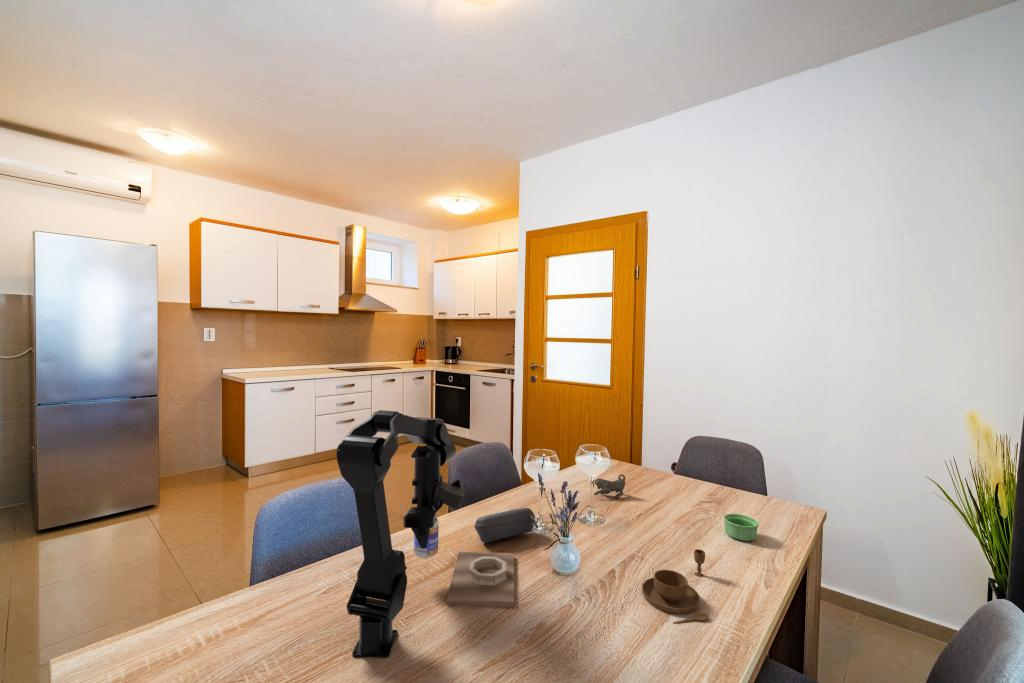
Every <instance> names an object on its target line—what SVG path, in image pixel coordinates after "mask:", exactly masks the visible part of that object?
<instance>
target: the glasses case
mask: <svg viewBox="0 0 1024 683" xmlns="http://www.w3.org/2000/svg"><path fill="white" fill-rule="evenodd" d="M534 526H535V528H536V529H539V526H538V524H537V522H536V514H535V513H534V511H533V510H532V509H531V508H529V507H523V508H522V507H521V508H515V509H514V508H512V509H507V510H503V511H499V512H494V513H492V514H487V515H484V516H481V517H480V516H479V518H477V519H476V521H475V524H474V529H475V531H476V533H477V535H478V537H479V540H480V541H481V542H482V543H490V542H494V541H498V540H502V539H507V538H511V537H515V536H519V535H524V534H527V533H531V532H532V531H533V530H534Z"/></svg>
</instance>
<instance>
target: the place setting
mask: <svg viewBox="0 0 1024 683" xmlns="http://www.w3.org/2000/svg"><path fill="white" fill-rule="evenodd" d="M693 558H694V559H693V560H694V562H695V563H696V564H697V567H696V570H697V572H694V575H695V576H696V577H699V578H702V577H704V574H703V573H702V565H703V564H705V561H706V552H705V551H704V550H702V549H698V548H697V549H694V551H693ZM688 583H689V582H688V579H687V578H686V577H685V576H684V575H683V574H681V573H680V572H677V571H674V570H671V569H660V570H657V571H655V572H654V574H653V577H650V578H647V579H646V580H644V581H643V583H642V585H641V592H642V595H643V597H644V599H645V600H646V601H647V602H648V603H649V604H650V605H651V606H653V607H654V608H657V609H659V610H660V611H663V612H666V613H669V614H677V615H683V614H689V613H692V612H694V611H695V610H696V609H697V608H698V607H699V605H700V602H701V601H700V599H701V598H700V594H699V593H698V592H697V590H696V589H695V588H694V587H692V586H691V585H689V584H688ZM709 617H710V616H709V614H707V613H701V612H700V613H697V614H695V615H694V616H693V617H690V618H689V617H688V618H684V619H681V620H680V619H679V620H677V621H673V622H672V624H673V625H678V624H683V623H685V622H690V621H697V622H703V621H706V620H708V618H709Z"/></svg>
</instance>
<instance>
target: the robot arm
mask: <svg viewBox="0 0 1024 683" xmlns="http://www.w3.org/2000/svg"><path fill="white" fill-rule="evenodd" d="M378 433H386V434H387V433H388V434H389V435H388V436H387V438H384V437H378V436H376V435H377V434H378ZM398 435H401V436H405V437H407V439H408V440H409V441H410V442H412V443H414V444H415V443H416V444H419V445H417V446H416V447H415V449H414V451H413V452H412V453H411V455H410V456H411V458H412V459H414V470H413V471H414V475H413V476H414V478H413V479H412V481H411V486H412V487H414V488H413V489H414V490H413V497H412V498H411V504H412V505H416V506H411V507H410V508H409V509H408V510H406V513H405V514H404V516H403V527H404V528H406V529H411V530H412V533H413V535H414V534H415V536H416V539H417V541H418V543H419V545H420V547H421V548H426V546H427V541H428V536H429V531H430V528H432V527H434V524H435V523H436V520H438V517H437V512H438V511H439V510H440V509H441V508H443V505H445V506H448V507H451V508H452V509H454V510H460V508H461V505H462V502H463V500H464V497H465V495H466V490H465V487H463V485H462V484H463V483H462V480H461V479H458V478H455V479H454V480H453V481H451V482H449V481H448V482H444V480H443V479H444V477H443V476H442V475H443V474H441V467H442V466H444V465H446V464H447V463H448V462H449V461H451V460H452V459H453V458H454V457H455V455H456V453H457V452H456V451H457V447H456V445H455V442H453V440H451V437H450V433H449V431H448V427H447V425H446V424H445V421H444V419H442V418H433V417H419V416H416V417H413V416H411V415H406V414H403V413H402V412H399V411H396V410H383V409H382V410H380V409H379V410H377V411H374V412H373V413H372V415H371V416H370V417H369V418H368V419H367V420H364V421H363V422H361V423H359V424H358V425H355V427H352V428H351V429H350V430H349V431H348V433H347V434H346V436H344V438H343V439H342V440H341V442H340V443H339V444H338V446H337V447H336V448H337V449H336V462H337V465H338V468H339V472H340V475H341V477H342V478H343V479H344V480H345V481H346V483H347V484H348V485H349V486H350V487H351V489H352V490H353V495H354V500H355V502H354V503H355V507H356V513H357V514H356V515H357V520H358V526H359V527H358V528H359V533H360V539H361V546H362V547H361V548H362V551H363V552H362V553H363V561H362V563H361V564H360V566H359V568H358V570H357V571H356V572H357V573H356V575H357V579H356V581H355V584H354V586H353V589H352V592H351V593H350V597H349V598H348V602H347V604H346V611H347V613H348V615H349V616H351V615H353V616H358V617H359V628H358V629H359V631H358V632H359V635H358V636H359V637H358V638H359V639H358V640H357V642H356V645H355V646H354V648H353V651H352V654H351V656H352V657H353V658H354V657H355V658H389V656H390V655H391V652H392V650H393V647H394V645H395V642H396V639H397V637H398V635H399V634H398V633H399V631H398V630H397V629H393V620H394V619H395V618H396V617H397V616H398V615H399V613H400V612H401V611H402V609H403V608H404V604H405V598H406V592H407V584H408V575H407V573H406V571H407V568H408V567H407V565H406V556H405V553H404V551H402V550H398V549H393V545H392V537H391V536H392V535H391V531H390V530H391V528H390V523H389V521H390V520H389V514H388V507H387V500H386V493H385V485H384V480H385V477H386V475H387V474H388V472H389V470H390V468H391V463H392V461H391V460H392V458H393V457H394V455H395V454H396V452H397V451H398V449H399V441H398ZM420 444H421V445H420ZM433 508H434V509H435V510H434V509H433Z"/></svg>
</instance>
